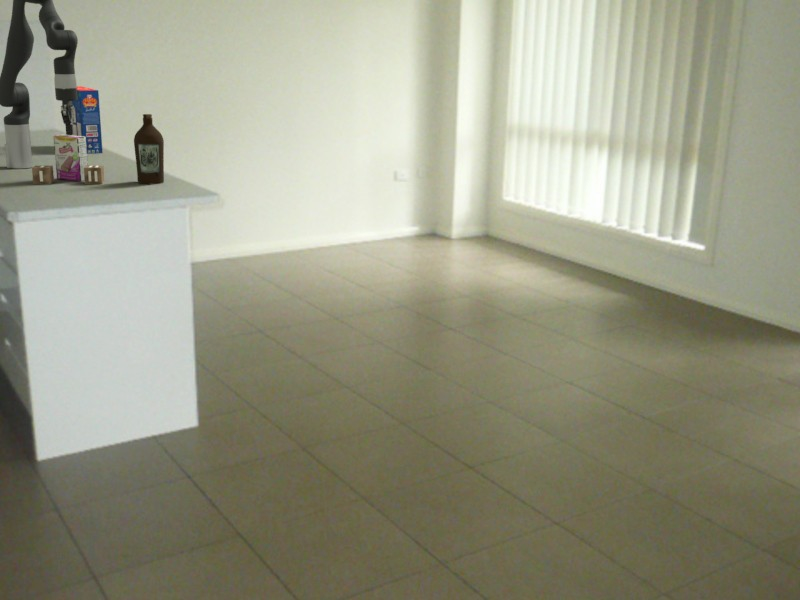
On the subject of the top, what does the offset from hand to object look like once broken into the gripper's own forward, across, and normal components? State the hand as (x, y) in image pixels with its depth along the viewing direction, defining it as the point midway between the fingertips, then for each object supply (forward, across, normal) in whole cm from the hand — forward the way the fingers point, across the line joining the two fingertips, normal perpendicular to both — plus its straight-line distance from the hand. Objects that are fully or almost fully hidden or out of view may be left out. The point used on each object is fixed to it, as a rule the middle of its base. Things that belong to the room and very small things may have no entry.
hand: (69, 134), depth 338 cm
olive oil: (+17, +6, +29) cm, 34 cm away
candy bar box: (+17, 0, 0) cm, 17 cm away
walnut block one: (+17, +7, -9) cm, 20 cm away
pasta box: (+17, -88, -10) cm, 90 cm away
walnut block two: (+17, +7, +9) cm, 20 cm away
